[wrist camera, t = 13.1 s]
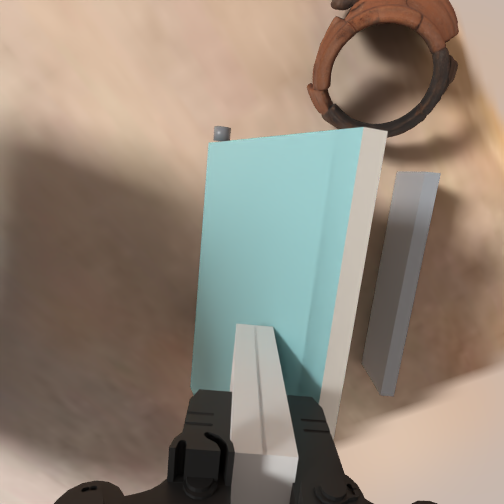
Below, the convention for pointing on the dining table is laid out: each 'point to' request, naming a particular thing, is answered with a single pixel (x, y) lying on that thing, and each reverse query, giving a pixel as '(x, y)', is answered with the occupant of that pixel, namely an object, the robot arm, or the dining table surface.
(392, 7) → the brown ring with stub
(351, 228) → the cover
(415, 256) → the channel
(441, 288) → the dining table surface
